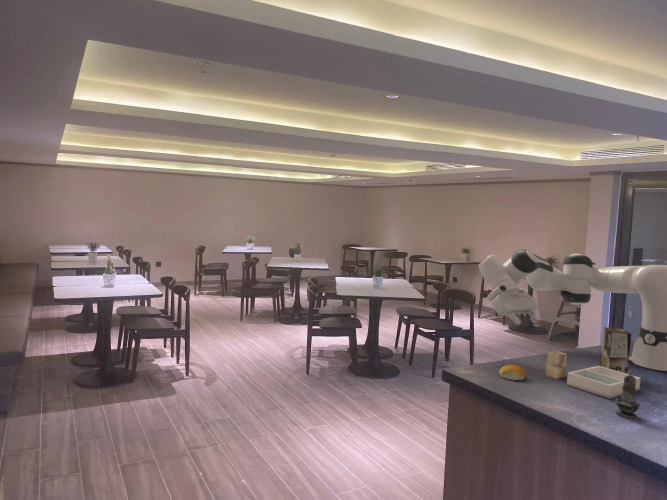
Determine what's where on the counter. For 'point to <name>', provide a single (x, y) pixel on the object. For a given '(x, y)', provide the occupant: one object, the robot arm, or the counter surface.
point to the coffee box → (615, 349)
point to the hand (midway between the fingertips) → (527, 322)
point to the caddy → (600, 381)
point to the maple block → (556, 364)
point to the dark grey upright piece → (628, 399)
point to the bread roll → (512, 372)
